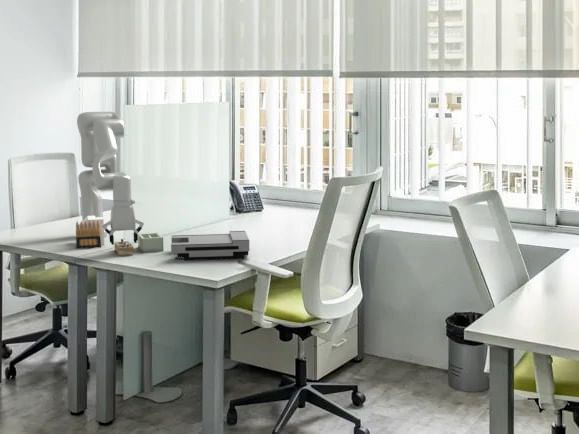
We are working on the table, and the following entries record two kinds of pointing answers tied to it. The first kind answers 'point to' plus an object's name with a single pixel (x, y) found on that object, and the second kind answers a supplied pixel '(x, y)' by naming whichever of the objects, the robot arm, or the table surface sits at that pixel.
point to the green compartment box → (150, 242)
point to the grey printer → (211, 246)
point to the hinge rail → (124, 246)
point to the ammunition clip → (87, 235)
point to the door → (124, 248)
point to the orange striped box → (101, 223)
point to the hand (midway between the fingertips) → (123, 243)
